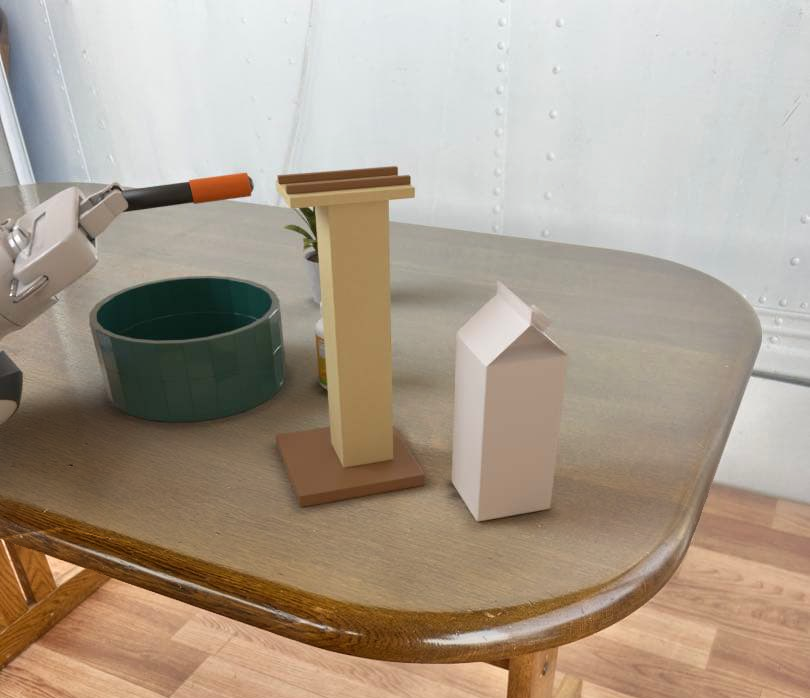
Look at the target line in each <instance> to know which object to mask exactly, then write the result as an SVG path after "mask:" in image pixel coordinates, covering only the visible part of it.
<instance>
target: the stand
mask: <svg viewBox="0 0 810 698" xmlns="http://www.w3.org/2000/svg"><path fill="white" fill-rule="evenodd" d="M276 176H277V180H275V189H276V192H277V193H278V194H279V196H280V197H281V198H282V199H283V200H284V202H285V204H287V206H288V207H289V208H290V209H291V210H292V209H293V210H294V209H299V208H305V207H309V208H313V207H315V213H316V228H317V242H318V257H319V271H320V286H321V301H322V315H323V330H324V344H325V359H326V373H327V388H328V390H327V400H328V401H327V402H328V416H329V417H328V418H329V426H325V427H319V428H312V429H305V430H299V431H292V432H287V433H279V434H275V444H276V448H277V450H278V452H279V455H280V458H281V460H282V463H283V465H284V468H285V471H286V474H287V476H288V479H289V481H290V484H291V486H292V488H293V491H294V494H295V497H296V500H297V501H298V505H299V507H300V508H303V507H308V506H316V505H320V504H326V503H332V502H338V501H343V500H348V499H354V498H360V497H364V496H365V497H366V496H371V495H376V494H381V493H388V492H392V491H393V492H394V491H398V490H405V489H411V488H415V487H421V486H425V473H424V472H423V470H422V469H421V467H420V465H419V464H418V462H417V461H416V458H415V457H414V456H413V454H412V452H411V451H410V450H409V448H408V446H407V445H406V444H405V442H404V440H403V439H402V437H401V435H400V434H399V433H398V431H397V430H396V428H395V426H394V425H393V420H394V419H393V418H394V417H393V369H392V366H393V365H392V363H393V362H392V311H391V309H392V305H391V249H390V247H391V245H390V201H394V200H395V201H396V200H407V199H415V198H416V187H415V186H414V185H412V184H411V183H412V182H411V181H412V180H411V178H412V177H411V175H410V174H405V175H399V168H398V166H396V165H391V166H378V167H367V168H354V169H353V168H351V169H340V170H329V171H315V172H314V171H313V172H301V173H300V172H299V173H290V174H277V175H276Z"/></svg>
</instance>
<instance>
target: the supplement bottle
mask: <svg viewBox="0 0 810 698" xmlns="http://www.w3.org/2000/svg"><path fill="white" fill-rule="evenodd" d="M319 313H320V314H319V315H320V317H321V318H319V320H317V321H316V323H315V326H314V333H315V345H316V347H315V348H316V360H317V371H318V372H317V374H318V380H319V381H318V382H319V385H320V386H321V387H322V388H323V389H325V390H326V391H328V388H327V373H326V359H325V344H324V330H323V315H322V301H321V302H320V305H319Z"/></svg>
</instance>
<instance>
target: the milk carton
mask: <svg viewBox="0 0 810 698" xmlns="http://www.w3.org/2000/svg"><path fill="white" fill-rule="evenodd" d="M552 323H553V320H552V318H550V317H549V315H547V314H545V313H544V312H543V311H542V310H541V309H540V308H538V306H536V305H535V304H531V305H530V306H529V305H528V304H526V303H525V302H524V301H523V300H522V299H521V298H520V297H519V296H517V295H516V294H515V293H514V292H513V291H512V290H510V288H509V287H507V286H506V285H505V284H504V283H503V282H501V281H496V293H495V295H494V296H492V298H491V299H489V300H488V301H487V302H486V303H485V304H484V306H482V307H481V308H480V309H479V310H478V311H477V312H476V313H475V314H474V315H473V316H472V317H471V318H470V319H469V320H467V322H466V323H464V325H462V327H460V328H459V329H458V330H457V332H456V337H455V338H456V341H455V366H454V367H455V368H454V369H455V370H454V372H455V373H454V399H453V400H454V401H453V402H454V403H453V426H452V427H453V428H452V429H453V431H452V456H451V457H452V458H451V459H452V460H451V463H452V464H451V484H452V485H453V487H454V488H455V489H456V491H457V493H458V494H459V496H460V497H461V499H462V501H463V502H464V503H465V505H466V507H467V508H468V511H469V512H470V513H471V515H472V517H473V518H474V519H475V521H476V522H482V521H483V522H484V521H489V520H494V519H500V518H501V519H502V518H507V517H511V516H518V515H523V514H528V513H533V512H539V511H545V510H550V509H551V504H552V495H553V489H554V479H555V471H556V464H557V456H558V446H559V440H560V439H559V438H560V429H561V423H562V415H563V407H564V406H563V405H564V400H565V399H564V398H565V392H566V391H565V389H566V382H567V374H568V364H569V363H568V361H569V354H568V353H567V352H566V351H565V350H564V349H563V348H561V347H560V346H559V345H558V344H557V343H556V342H555V341H554V340H553V339H551V338H550V337H549V336H548V335H547V334H546V333H545V332H546V331H547V329H548V328H549V327H550V326H551V325H552Z"/></svg>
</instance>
